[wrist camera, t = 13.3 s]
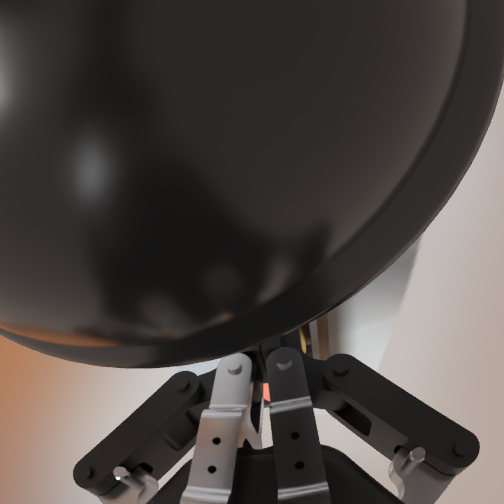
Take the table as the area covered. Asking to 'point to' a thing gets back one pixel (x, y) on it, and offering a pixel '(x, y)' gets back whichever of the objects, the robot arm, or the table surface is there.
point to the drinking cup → (223, 162)
